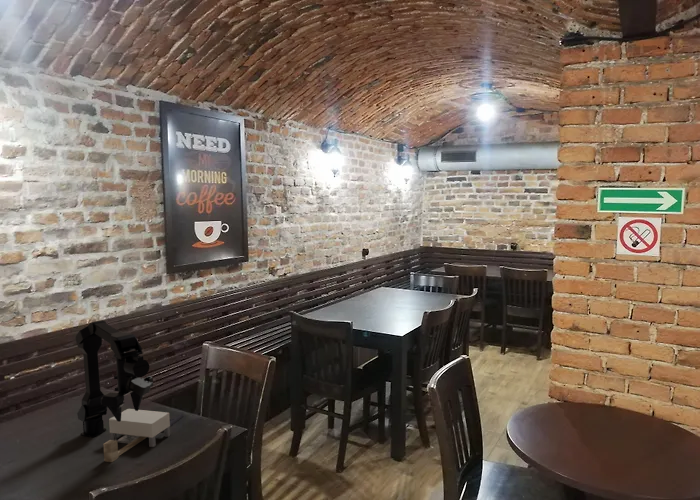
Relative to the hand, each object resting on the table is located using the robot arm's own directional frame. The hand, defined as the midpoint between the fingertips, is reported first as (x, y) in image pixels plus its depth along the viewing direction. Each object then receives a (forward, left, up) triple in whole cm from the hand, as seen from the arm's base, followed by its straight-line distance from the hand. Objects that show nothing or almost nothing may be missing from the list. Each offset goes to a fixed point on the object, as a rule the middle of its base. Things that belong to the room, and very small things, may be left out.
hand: (128, 415), depth 174 cm
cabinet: (-3, +10, -13) cm, 17 cm away
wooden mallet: (-6, +3, -13) cm, 14 cm away
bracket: (-6, +23, -14) cm, 28 cm away
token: (-7, +8, -13) cm, 17 cm away
